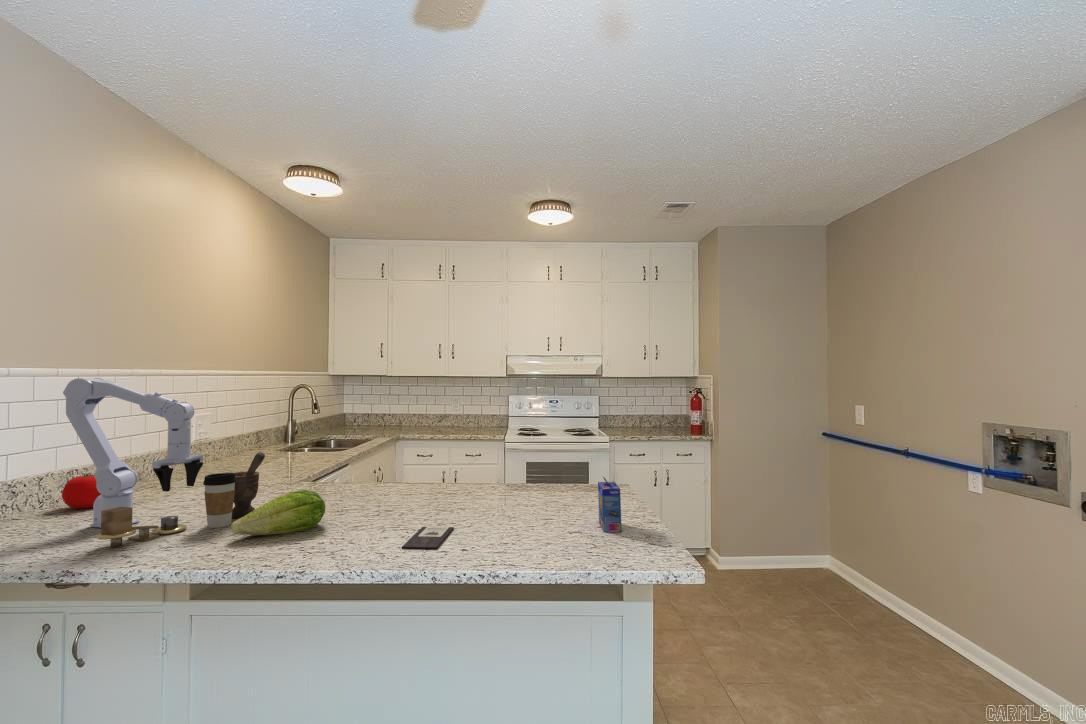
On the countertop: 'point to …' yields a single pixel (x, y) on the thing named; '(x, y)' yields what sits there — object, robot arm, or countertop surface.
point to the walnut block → (116, 521)
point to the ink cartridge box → (609, 506)
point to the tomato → (80, 492)
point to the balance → (146, 531)
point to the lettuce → (283, 515)
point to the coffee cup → (219, 498)
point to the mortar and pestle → (246, 488)
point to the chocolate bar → (428, 538)
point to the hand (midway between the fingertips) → (178, 488)
